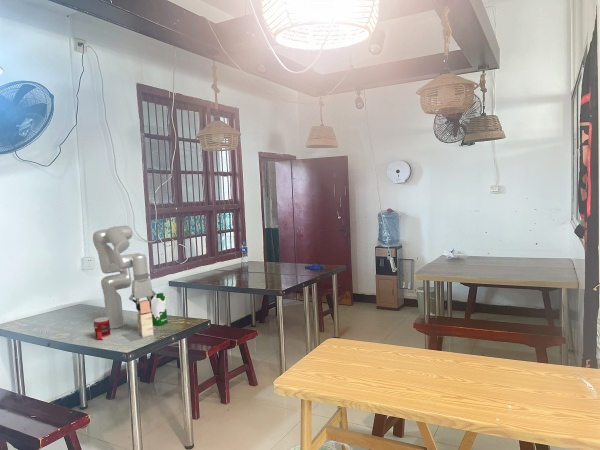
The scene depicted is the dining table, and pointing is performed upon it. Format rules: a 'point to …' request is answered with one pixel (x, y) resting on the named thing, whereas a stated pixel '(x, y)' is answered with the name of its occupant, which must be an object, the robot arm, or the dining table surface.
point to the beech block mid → (144, 319)
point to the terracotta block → (144, 306)
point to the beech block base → (145, 330)
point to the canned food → (102, 328)
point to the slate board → (137, 335)
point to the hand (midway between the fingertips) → (143, 309)
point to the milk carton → (159, 310)
